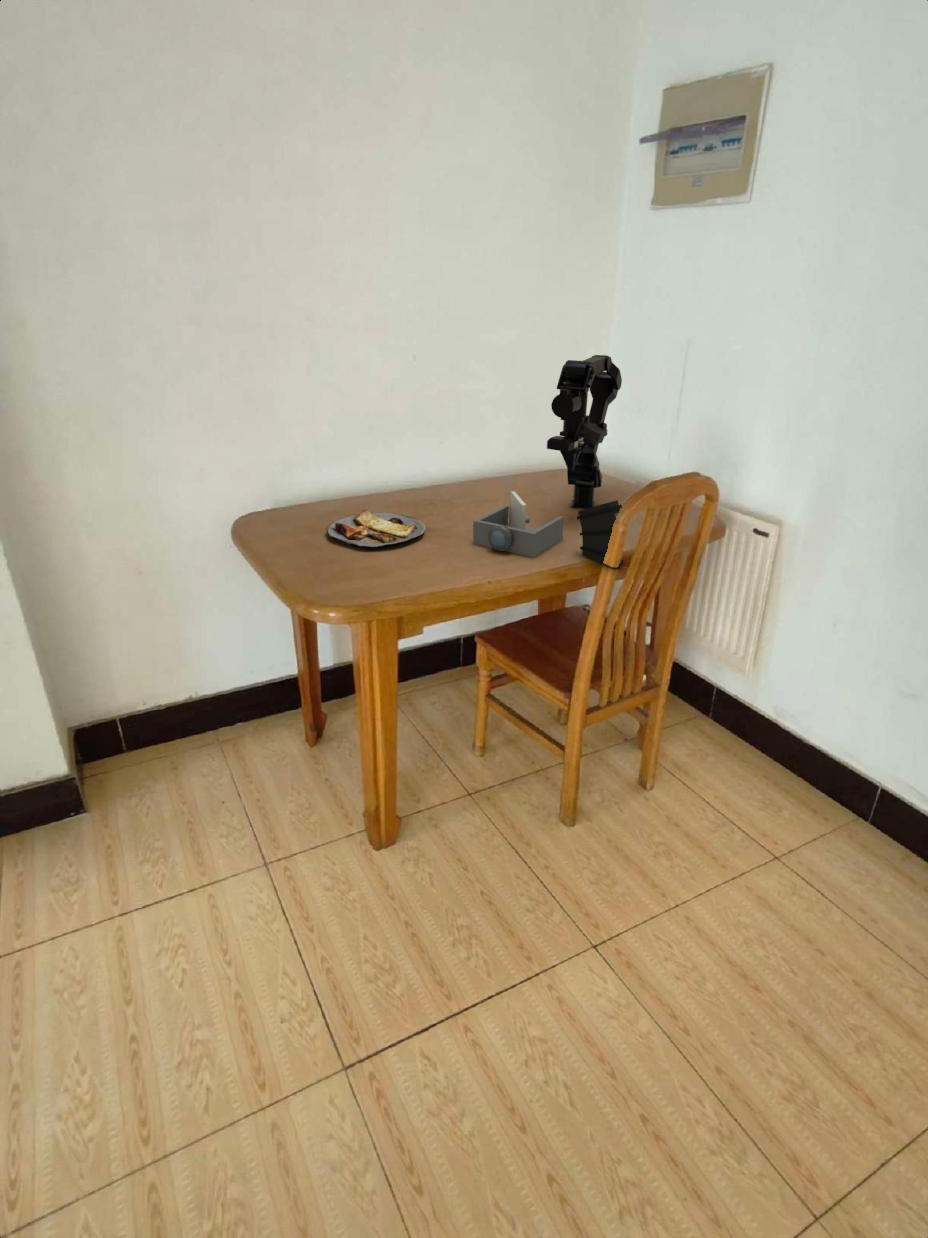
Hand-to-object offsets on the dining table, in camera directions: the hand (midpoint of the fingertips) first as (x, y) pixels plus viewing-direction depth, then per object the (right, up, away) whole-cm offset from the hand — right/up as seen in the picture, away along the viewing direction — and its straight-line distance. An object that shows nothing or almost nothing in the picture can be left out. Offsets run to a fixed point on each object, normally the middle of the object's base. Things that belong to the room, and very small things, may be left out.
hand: (570, 471), depth 194 cm
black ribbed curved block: (+3, -26, -22) cm, 34 cm away
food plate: (-52, -18, -6) cm, 55 cm away
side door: (-15, -17, -8) cm, 24 cm away
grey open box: (-16, -20, -12) cm, 28 cm away
